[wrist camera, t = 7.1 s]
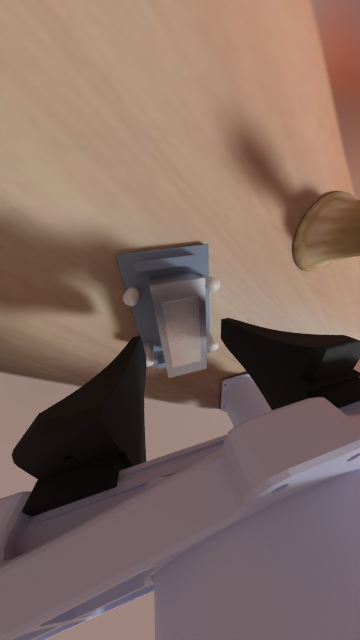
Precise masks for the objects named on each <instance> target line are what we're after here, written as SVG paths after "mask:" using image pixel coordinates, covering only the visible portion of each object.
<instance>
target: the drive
mask: <svg viewBox="0 0 360 640" xmlns="http://www.w3.org/2000/svg"><path fill="white" fill-rule="evenodd" d="M149 286H150V291H151V296H152V301H153V305H154V310H155V315H156V320H157V325H158V330H159V335H160V340H161V344H162V349H163V354H164V359H165V364H166V369H167V374H168V378H172V377H176V376H180V375H184V374H187V373H191V372H195V371H199V370H203V369H207V349H206V300H205V278H204V277H201V276H198V275H195V274H192V273H189V272H182V273H174V274H167V275H160V276H153V277H149Z"/></svg>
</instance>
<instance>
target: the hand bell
mask: <svg viewBox="0 0 360 640" xmlns="http://www.w3.org/2000/svg"><path fill="white" fill-rule="evenodd" d="M293 256H294V260H295V263H296V264H297V266H298V267H299V268H300V269H302V270H304V271H315V270H318V269H321V268H323V267H325V266H327V265H329V264H330V263H332V262H333V261H336V260H339V259H343V258H348V257H355V256H360V200H357V199H355V197H354V196H352V195H351V194H349V193H347V192H342V191H337V192H333V193H330V194H328V195H326V196H324V197H322V198H321V199H320V200H318V201H317V202H316V203H315V204H314V205H313V206H312V207H311V208H310V210H309V211H308V212H307V213H306V215H305V216H304V218H303V220H302V221H301V223H300V225H299V227H298V230H297V232H296V235H295V239H294V245H293Z"/></svg>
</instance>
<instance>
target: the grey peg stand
mask: <svg viewBox="0 0 360 640" xmlns="http://www.w3.org/2000/svg"><path fill="white" fill-rule="evenodd" d="M116 259H117V262H118V266H119V269H120V272H121V276H122V279H123V283H124V286H125V289H126V292H125V294H124V295H123V302H124V303H125V304H126V305H128V306H131V310H132V313H133V317H134V320H135V323H136V327H137V330H138V334H139V336H141V340H142V343H143V347H144V350H145V354H146V366H147V367H152V366H156V365H158V367H159V369H162V368H166V364H165V359H164V354H163V349H162V344H161V340H160V335H159V330H158V325H157V320H156V315H155V310H154V305H153V301H152V296H151V291H150V286H149V277H153V276H160V275H167V274H174V273H182V272H189V273H192V274H195V275H198V276H201V277H204V278H205V300H206V349H207V353H210V350H211V351H215V350H217V349H218V347H219V344H218V343H217V341H216V340H215V339H214V338H213V337H212V335H211V334H210V333H209V291H211V292H216V291H217V290H218V289H219V288H220V281H219V280H218V279H215V278H212V277H209V262H208V244H205V245H196V246H187V247H178V248H170V249H161V250H152V251H144V252H135V253H126V254H118V255H116Z"/></svg>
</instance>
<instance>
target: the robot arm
mask: <svg viewBox="0 0 360 640" xmlns="http://www.w3.org/2000/svg"><path fill="white" fill-rule="evenodd" d="M221 339H222V341H223V343H224V344H225V346H226V347H227V348H228V350H229V351H230V352H231V353H232V354H233V355H234V357H235V358H236V359H237V360H238V361H239V362H240V363H241V365H242V366H243V367H244V368H245V370H246V371H247V372H248V373H246V374H242V375H239V376H235V377H232V378H228V379H224V380H223V381H222V392H221V412H227V414H228V416H229V418H230V420H231V422H232V424H233V426H234V428H233V429H231V430H230V431H229V432H228V434H227V435H224V436H221V437H218V438H215V439H212V440H209V441H206V442H203V443H200V444H197V445H195V446H192V447H189V448H186V449H183V450H180V451H177V452H174V453H171V454H168V455H165V456H162V457H159V458H156V459H153V460H150V461H147V462H146V450H145V427H144V388H145V377H146V354H145V350H144V347H143V343H142V340H141V336H137V337H133V338H132V339H131V340H130V341H129V343H128V344H127V345H126V346H125V348H124V349H123V350H122V351H121V352H120V354H119V355H118V356H117V357H116V358H115V359H114V360H113V361H112V362H111V363H110V364H109V365H108V366H107V367H106V368H105V369H104V370H102V371H101V372H100V373H99V374H98V375H96V376H95V377H94V378H93V379H91V380H90V381H89V382H88V383H86V384H85V385H84V386H82V387H81V388H79V389H78V390H76V391H75V392H74V393H72V394H70V395H69V396H67V397H66V398H64V399H63V400H61V401H60V402H58V403H56V404H54V405H53V406H51V407H50V408H48V409H46V410H45V411H43V412H41V413H39V414H38V416H37V417H36V419H35V420H34V422H33V423H32V424H31V426H30V427H29V429H28V430H27V431H26V433H25V434H24V435H23V437H22V438H21V440H20V441H19V442H18V444H17V445H16V447H15V448H14V450H13V453H12V458H13V461H14V463H15V464H16V465H17V466H18V467H20V468H21V469H22V470H24V471H26V472H27V473H29V474H30V475H32V476H34V477H35V478H37V479H38V481H37V482H36V484H35V486H34V488H33V490H32V492H21V493H17V494H14V495H11V496H8V497H5V498H1V499H0V640H45V639H48V638H50V637H52V636H54V635H56V634H59V633H61V632H63V631H65V630H67V629H70V628H72V627H74V626H76V625H79V624H81V623H83V622H85V621H88V620H90V619H92V618H94V617H97V616H99V615H101V614H103V613H106V612H108V611H110V610H112V609H114V608H117V607H119V606H121V605H123V604H126V603H128V602H130V601H132V600H135V599H137V598H139V597H141V596H144V595H146V594H148V593H150V592H153V591H154V592H155V640H360V378H359V376H360V373H359V372H357V371H356V370H354V369H353V368H354V367H355V365H356V364H357V362H358V360H359V359H360V341H359V340H356V339H354V338H351V337H349V336H344V335H314V334H301V333H292V332H284V331H278V330H272V329H267V328H263V327H259V326H255V325H251V324H248V323H245V322H241V321H238V320H234V319H230V318H226V319H221Z"/></svg>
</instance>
